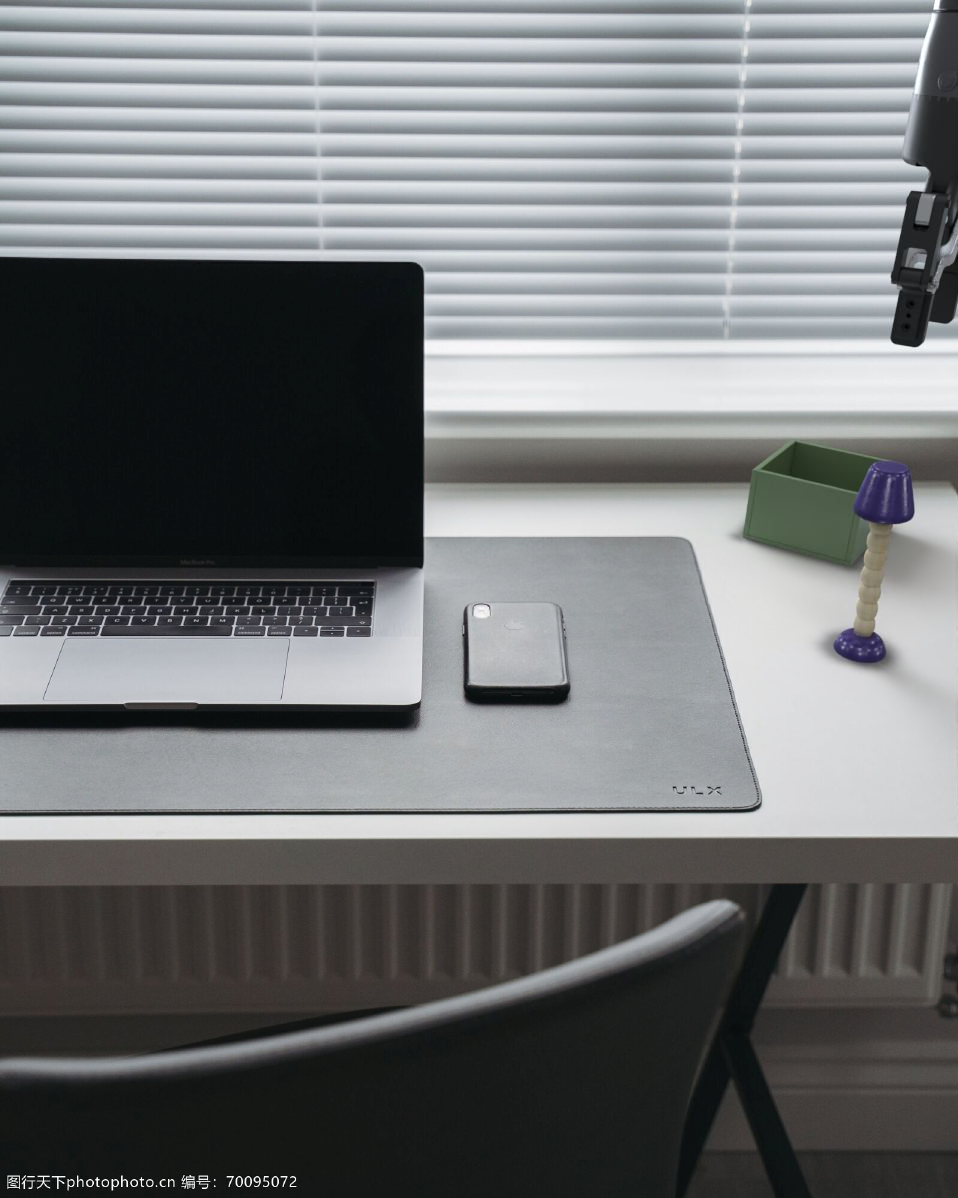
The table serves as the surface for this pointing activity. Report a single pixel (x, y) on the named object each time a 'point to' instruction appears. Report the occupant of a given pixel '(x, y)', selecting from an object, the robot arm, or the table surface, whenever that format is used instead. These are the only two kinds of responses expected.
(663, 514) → the table surface
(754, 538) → the bin
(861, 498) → the toy lamp
